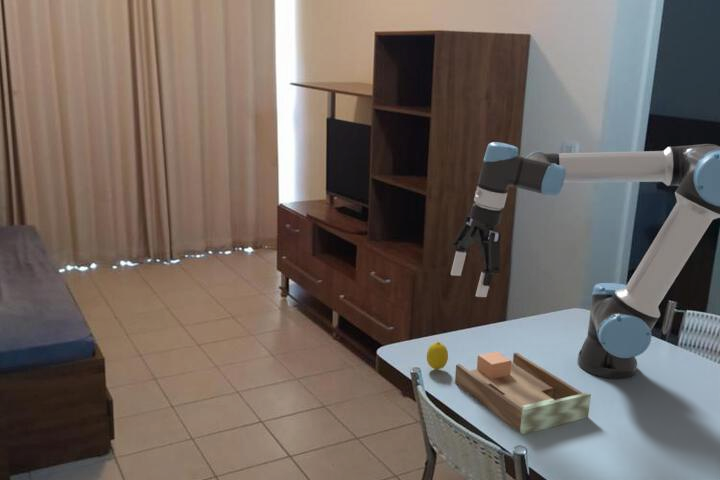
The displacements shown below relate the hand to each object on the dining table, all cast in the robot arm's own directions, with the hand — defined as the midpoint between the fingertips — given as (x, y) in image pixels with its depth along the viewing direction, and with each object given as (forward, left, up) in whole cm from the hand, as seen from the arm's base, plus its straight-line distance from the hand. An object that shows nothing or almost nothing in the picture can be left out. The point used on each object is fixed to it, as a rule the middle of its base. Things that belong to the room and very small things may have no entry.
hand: (467, 285), depth 180 cm
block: (-4, +8, -21) cm, 23 cm away
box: (-4, +18, -24) cm, 30 cm away
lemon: (+6, -3, -24) cm, 25 cm away
